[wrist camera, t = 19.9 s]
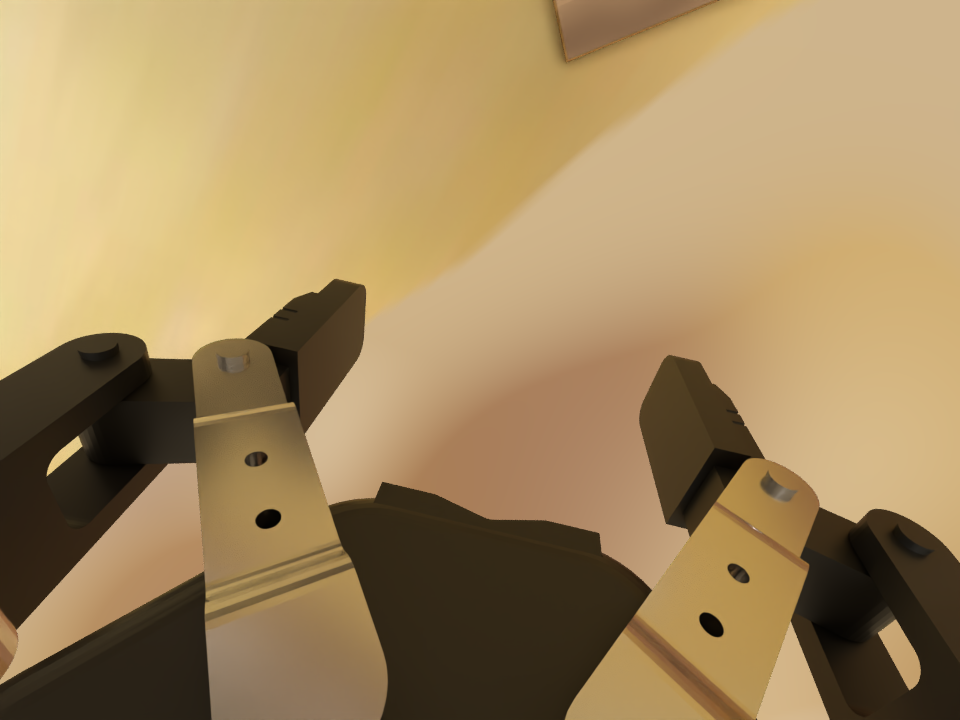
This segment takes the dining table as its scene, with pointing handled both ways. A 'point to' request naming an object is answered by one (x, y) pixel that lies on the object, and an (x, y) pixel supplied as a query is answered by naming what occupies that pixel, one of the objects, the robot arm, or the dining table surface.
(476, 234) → the dining table surface
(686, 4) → the block
